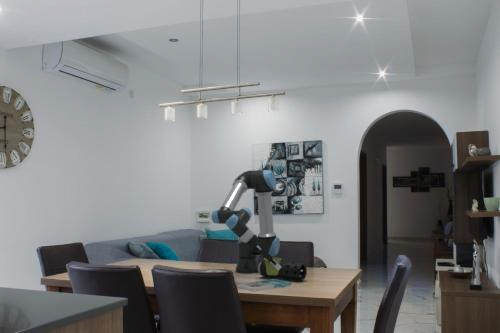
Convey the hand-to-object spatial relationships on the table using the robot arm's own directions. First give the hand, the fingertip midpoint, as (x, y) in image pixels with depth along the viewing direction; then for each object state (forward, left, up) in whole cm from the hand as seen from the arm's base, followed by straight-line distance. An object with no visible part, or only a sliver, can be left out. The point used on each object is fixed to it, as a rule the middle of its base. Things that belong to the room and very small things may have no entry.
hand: (278, 267), depth 274 cm
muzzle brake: (-11, +13, -10) cm, 20 cm away
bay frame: (-2, -9, -9) cm, 13 cm away
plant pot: (-2, -3, -4) cm, 5 cm away
